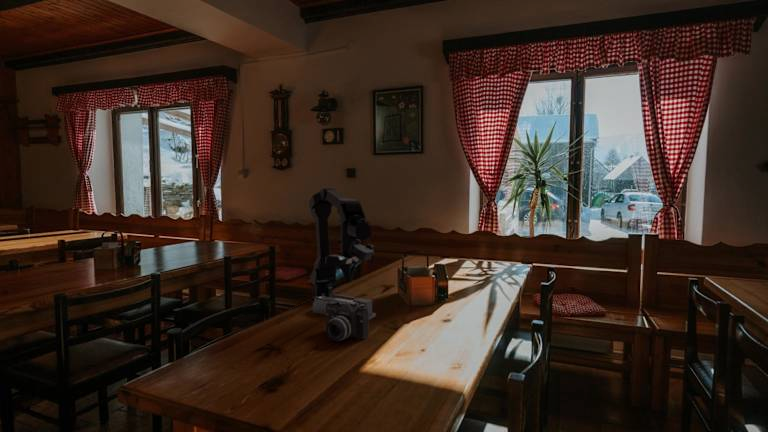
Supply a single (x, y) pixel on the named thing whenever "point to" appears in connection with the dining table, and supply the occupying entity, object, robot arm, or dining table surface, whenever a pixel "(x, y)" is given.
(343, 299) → the light grey flat bar
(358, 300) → the clip
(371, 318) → the clip rail
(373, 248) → the robot arm
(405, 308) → the dining table surface
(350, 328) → the camera
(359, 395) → the dining table surface
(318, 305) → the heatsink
